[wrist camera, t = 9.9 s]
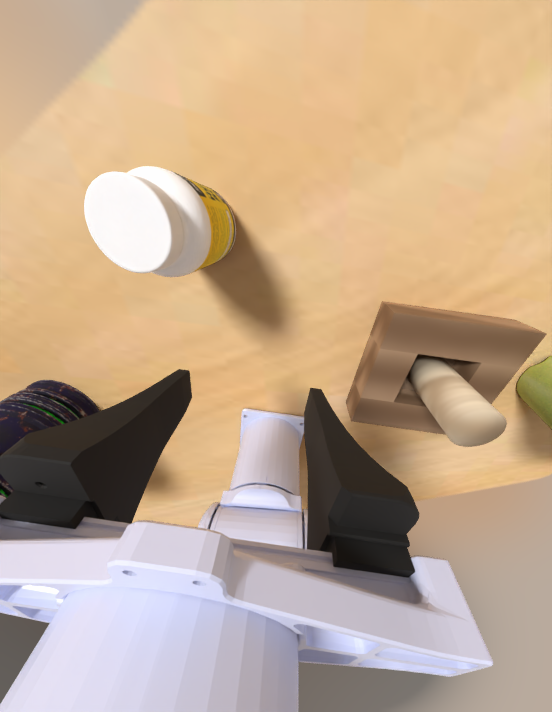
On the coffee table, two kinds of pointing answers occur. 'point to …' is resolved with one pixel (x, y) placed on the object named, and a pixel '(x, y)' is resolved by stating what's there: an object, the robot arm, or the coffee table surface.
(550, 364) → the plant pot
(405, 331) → the socket block
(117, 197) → the supplement bottle
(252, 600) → the robot arm
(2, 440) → the storage jar
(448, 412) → the pin
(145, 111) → the coffee table surface
